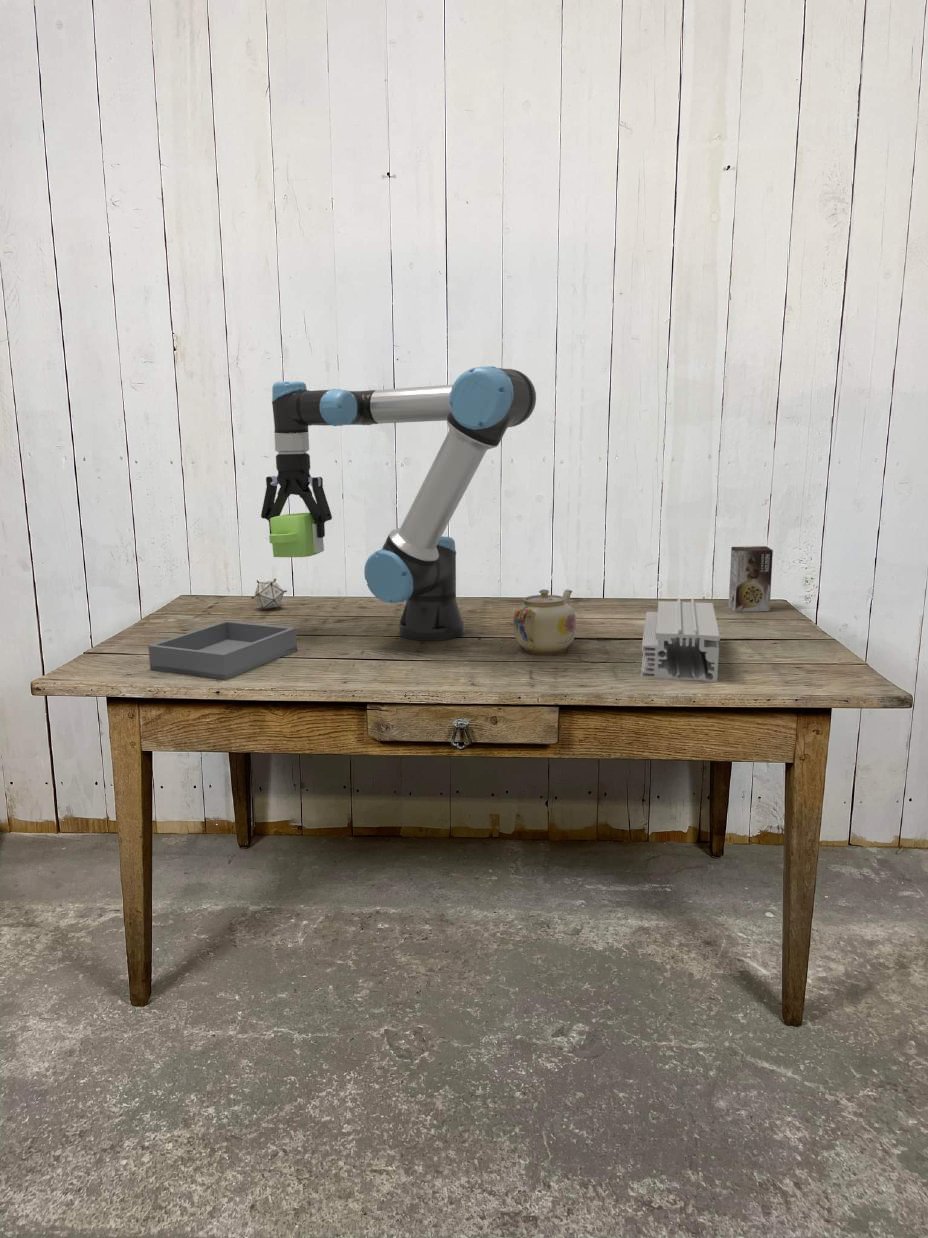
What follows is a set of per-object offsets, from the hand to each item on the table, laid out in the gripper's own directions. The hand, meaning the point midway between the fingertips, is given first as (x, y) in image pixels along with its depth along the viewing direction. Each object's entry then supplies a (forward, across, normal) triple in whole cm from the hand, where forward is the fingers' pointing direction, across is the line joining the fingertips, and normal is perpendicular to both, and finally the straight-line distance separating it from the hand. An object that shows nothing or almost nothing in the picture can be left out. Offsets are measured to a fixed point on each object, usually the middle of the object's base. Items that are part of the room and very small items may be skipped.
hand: (297, 550), depth 202 cm
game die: (+20, +24, -20) cm, 37 cm away
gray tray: (+20, +2, +25) cm, 32 cm away
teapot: (+20, -57, -9) cm, 61 cm away
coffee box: (+20, -93, -66) cm, 116 cm away
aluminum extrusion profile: (+21, -85, -12) cm, 88 cm away
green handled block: (+1, 0, 0) cm, 1 cm away
